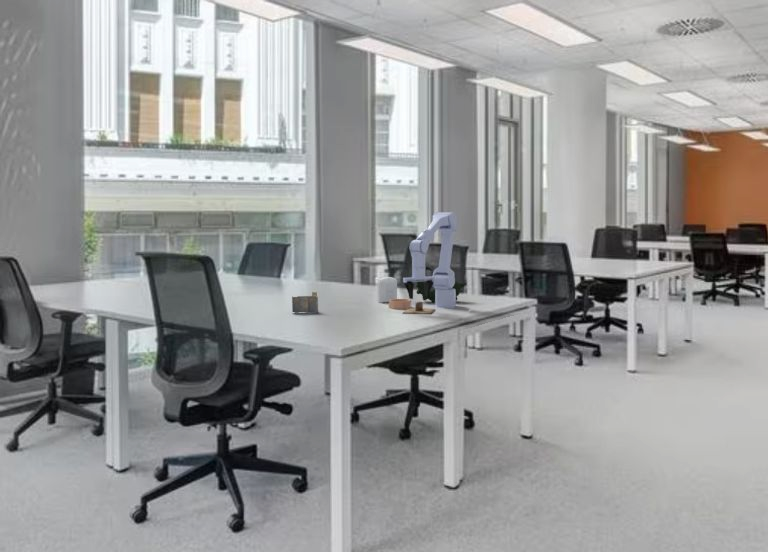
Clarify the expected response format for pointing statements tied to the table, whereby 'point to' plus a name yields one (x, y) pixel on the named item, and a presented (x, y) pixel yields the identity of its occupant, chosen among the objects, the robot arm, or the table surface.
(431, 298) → the toy figurine
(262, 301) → the table surface
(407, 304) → the bowl
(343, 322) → the table surface
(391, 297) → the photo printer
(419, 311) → the lid
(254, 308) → the table surface
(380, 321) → the table surface
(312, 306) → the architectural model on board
